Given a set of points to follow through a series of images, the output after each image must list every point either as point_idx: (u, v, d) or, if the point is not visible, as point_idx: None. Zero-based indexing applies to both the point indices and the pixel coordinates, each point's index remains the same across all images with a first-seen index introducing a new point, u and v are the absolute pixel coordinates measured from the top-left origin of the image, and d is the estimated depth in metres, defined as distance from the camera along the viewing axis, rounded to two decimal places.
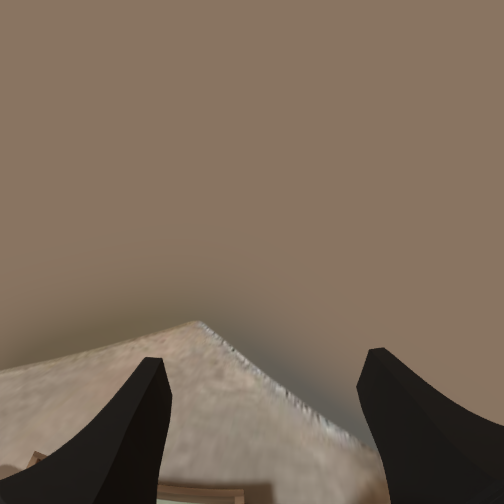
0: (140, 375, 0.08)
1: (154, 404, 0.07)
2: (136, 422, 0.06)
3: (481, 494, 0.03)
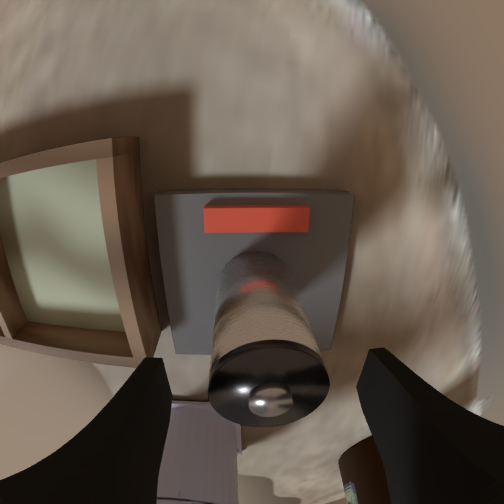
0: (140, 375, 0.08)
1: (154, 404, 0.07)
2: (136, 422, 0.06)
3: (481, 494, 0.03)
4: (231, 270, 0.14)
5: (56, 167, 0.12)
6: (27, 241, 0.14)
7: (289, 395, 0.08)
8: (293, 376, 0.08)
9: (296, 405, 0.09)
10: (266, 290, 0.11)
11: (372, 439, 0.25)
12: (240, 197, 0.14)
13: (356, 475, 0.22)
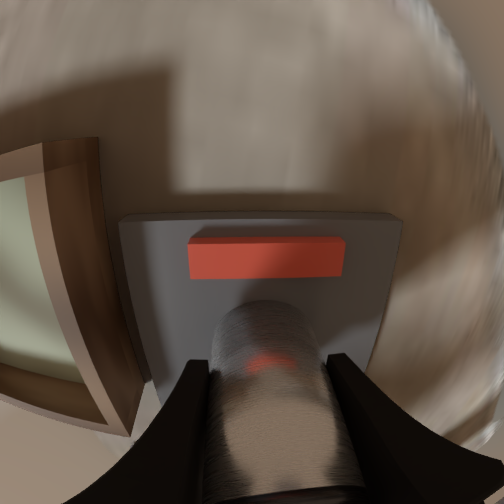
0: (190, 378, 0.08)
1: (204, 407, 0.07)
2: (194, 427, 0.06)
3: None
4: (230, 332, 0.09)
5: None
6: None
7: None
8: None
9: None
10: (284, 383, 0.07)
11: None
12: (243, 226, 0.09)
13: None
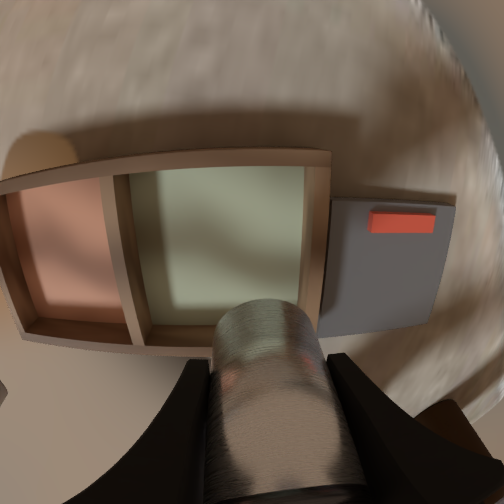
0: (190, 378, 0.08)
1: (204, 407, 0.07)
2: (194, 427, 0.06)
3: None
4: (231, 331, 0.09)
5: None
6: (178, 239, 0.17)
7: None
8: None
9: None
10: (286, 381, 0.07)
11: (432, 408, 0.27)
12: (393, 206, 0.17)
13: None
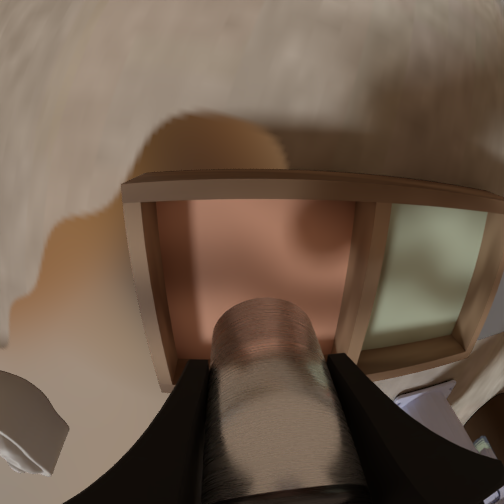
0: (190, 378, 0.08)
1: (204, 407, 0.07)
2: (194, 427, 0.06)
3: None
4: (230, 330, 0.09)
5: None
6: (399, 267, 0.15)
7: None
8: None
9: None
10: (285, 381, 0.07)
11: (491, 401, 0.26)
12: None
13: (486, 429, 0.24)
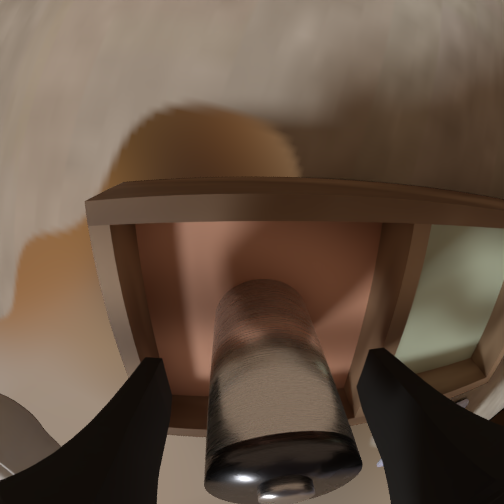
0: (140, 375, 0.08)
1: (154, 404, 0.07)
2: (136, 422, 0.06)
3: (481, 494, 0.03)
4: (231, 306, 0.10)
5: None
6: (426, 293, 0.13)
7: (311, 489, 0.05)
8: (318, 469, 0.05)
9: (317, 488, 0.06)
10: (279, 345, 0.08)
11: (500, 414, 0.24)
12: None
13: None
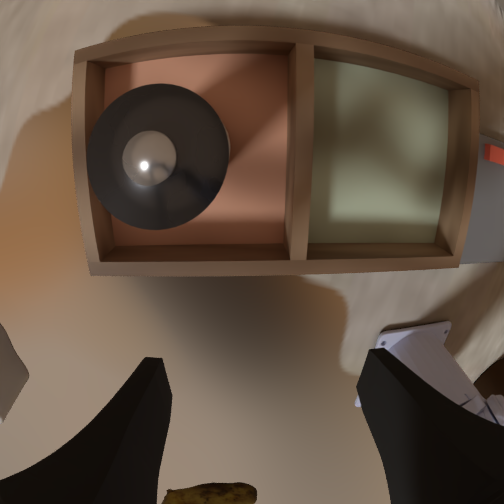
0: (140, 375, 0.08)
1: (154, 404, 0.07)
2: (136, 422, 0.06)
3: (481, 494, 0.03)
4: None
5: (401, 78, 0.13)
6: (349, 137, 0.14)
7: (169, 140, 0.06)
8: (177, 120, 0.07)
9: (189, 179, 0.07)
10: None
11: (495, 365, 0.25)
12: (497, 143, 0.14)
13: None
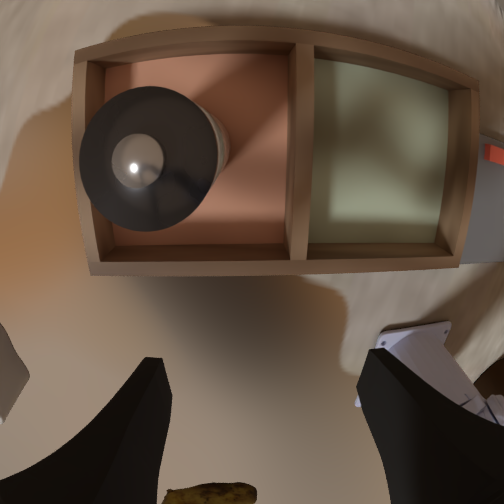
0: (140, 375, 0.08)
1: (154, 404, 0.07)
2: (136, 422, 0.06)
3: (481, 494, 0.03)
4: None
5: (401, 78, 0.13)
6: (349, 137, 0.14)
7: (156, 142, 0.06)
8: (164, 122, 0.07)
9: (177, 181, 0.07)
10: None
11: (495, 365, 0.25)
12: (497, 143, 0.14)
13: None
